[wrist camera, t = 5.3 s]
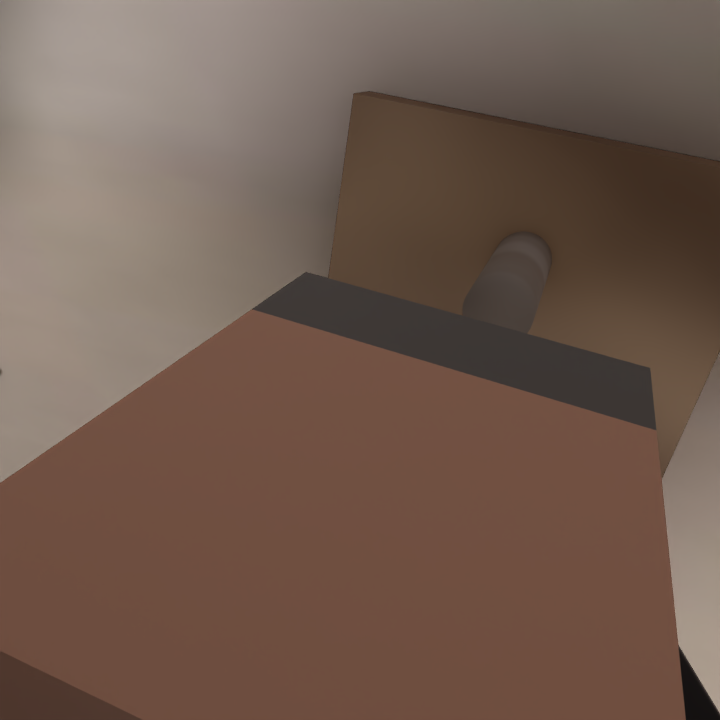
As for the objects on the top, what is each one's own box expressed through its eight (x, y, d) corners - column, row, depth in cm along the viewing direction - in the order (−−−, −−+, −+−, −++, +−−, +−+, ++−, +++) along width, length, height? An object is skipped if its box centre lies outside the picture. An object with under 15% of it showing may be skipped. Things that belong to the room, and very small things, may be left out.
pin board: (581, 631, 22) (571, 779, 17) (304, 527, 24) (234, 634, 20) (783, 174, 15) (854, 224, 10) (369, 91, 17) (282, 102, 13)
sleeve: (650, 367, 8) (714, 994, 3) (544, 627, 10) (459, 1266, 5) (306, 272, 9) (-142, 581, 4) (275, 524, 11) (-40, 954, 6)
